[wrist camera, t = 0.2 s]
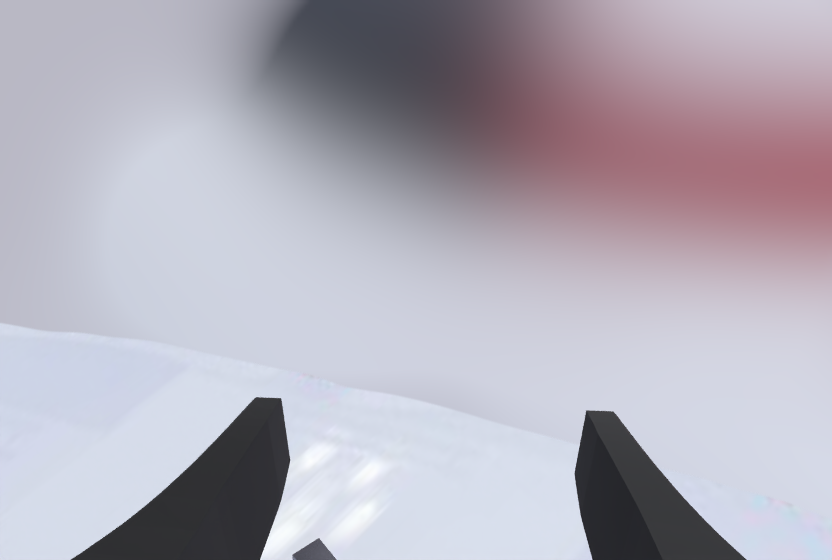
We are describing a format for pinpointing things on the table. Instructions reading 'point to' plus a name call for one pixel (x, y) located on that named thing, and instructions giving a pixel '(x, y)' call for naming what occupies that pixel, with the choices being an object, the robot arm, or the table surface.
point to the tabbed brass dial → (314, 552)
